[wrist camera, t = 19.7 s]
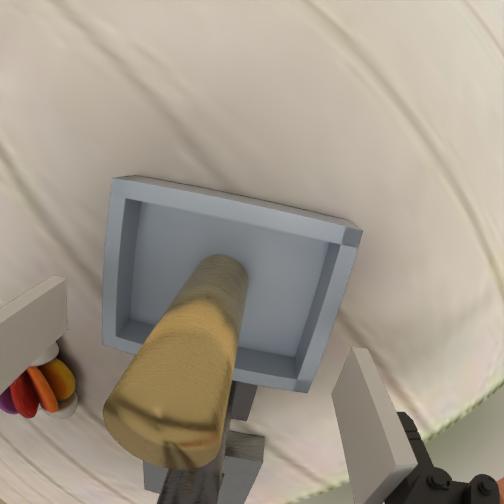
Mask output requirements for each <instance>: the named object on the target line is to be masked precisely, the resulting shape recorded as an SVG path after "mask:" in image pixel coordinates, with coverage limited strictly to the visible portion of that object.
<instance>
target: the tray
mask: <svg viewBox="0 0 504 504" xmlns="http://www.w3.org/2000/svg"><path fill="white" fill-rule="evenodd" d="M362 232H363V231H362V230H361V229H360V228H358V227H357V226H356V225H354V224H353V223H352V222H350V221H349V220H345V219H341V218H337V217H333V216H329V215H325V214H320V213H316V212H312V211H308V210H304V209H300V208H295V207H291V206H287V205H282V204H278V203H273V202H269V201H264V200H260V199H255V198H251V197H246V196H241V195H237V194H232V193H227V192H222V191H217V190H212V189H207V188H202V187H197V186H192V185H186V184H181V183H176V182H170V181H165V180H159V179H153V178H148V177H142V176H136V175H133V176H124V177H116V178H112V186H111V193H110V201H109V210H108V219H107V229H106V241H105V255H104V272H103V304H102V334H103V345H106V346H109V347H112V348H115V349H118V350H121V351H124V352H127V353H131V354H134V355H136V354H137V353H138V351H139V350H140V348H141V347H142V345H143V344H144V342H145V341H146V339H147V338H148V336H149V335H150V333H151V332H152V330H153V329H154V327H155V326H156V324H157V323H158V322H159V320H160V319H161V317H162V316H163V314H164V313H165V311H166V310H167V308H168V307H169V305H170V304H171V302H172V301H173V300H174V298H175V297H176V295H177V294H178V292H179V291H180V289H181V288H182V287H183V285H184V284H185V282H186V281H187V279H188V278H189V276H190V275H191V274H192V272H193V271H194V269H195V268H196V267H197V265H198V264H199V263H200V262H201V261H202V260H203V259H205V258H206V257H208V256H211V255H217V254H222V255H227V256H230V257H233V258H234V259H236V260H237V261H239V262H240V263H241V264H242V265H243V267H244V268H245V270H246V272H247V274H248V278H249V286H248V292H247V298H246V303H245V309H244V315H243V321H242V326H241V332H240V338H239V343H238V349H237V354H236V360H235V366H234V371H233V377H232V380H234V381H239V382H244V383H249V384H255V385H260V386H265V387H271V388H277V389H283V390H289V391H296V392H302V393H308V391H309V388H310V386H311V383H312V381H313V378H314V376H315V373H316V371H317V368H318V365H319V363H320V360H321V358H322V355H323V352H324V350H325V347H326V344H327V342H328V339H329V336H330V333H331V330H332V328H333V325H334V322H335V319H336V316H337V313H338V310H339V307H340V304H341V301H342V298H343V295H344V292H345V289H346V286H347V283H348V280H349V277H350V273H351V270H352V267H353V263H354V260H355V257H356V253H357V250H358V246H359V243H360V239H361V236H362Z"/></svg>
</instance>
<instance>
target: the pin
mask: <svg viewBox="0 0 504 504" xmlns="http://www.w3.org/2000/svg"><path fill="white" fill-rule="evenodd" d="M248 286H249V278H248V274H247V272H246V270H245V268H244V267H243V265H242V264H241V263H240V262H239V261H237V260H236V259H234V258H233V257H230V256H227V255H222V254H217V255H211V256H208V257H206V258H205V259H203V260H202V261H201V262H200V263H199V264H198V265H197V267H196V268H195V269H194V271H193V272H192V274H191V275H190V276H189V278H188V279H187V281H186V282H185V284H184V285H183V287H182V288H181V289H180V291H179V292H178V294H177V295H176V297H175V298H174V300H173V301H172V302H171V304H170V305H169V307H168V308H167V310H166V311H165V313H164V314H163V316H162V317H161V319H160V320H159V322H158V323H157V324H156V326H155V327H154V329H153V330H152V332H151V333H150V335H149V336H148V338H147V339H146V341H145V342H144V344H143V345H142V347H141V348H140V350H139V351H138V353H137V354H136V356H135V357H134V359H133V360H132V362H131V364H130V365H129V367H128V368H127V370H126V371H125V373H124V374H123V376H122V377H121V379H120V380H119V382H118V384H117V385H116V387H115V388H114V390H113V391H112V393H111V394H110V396H109V398H108V399H107V401H106V402H105V405H104V408H103V417H104V422H105V424H106V427H107V429H108V431H109V432H110V434H111V435H112V436H113V438H114V439H115V440H116V441H117V442H118V443H119V444H120V445H121V446H122V447H123V448H125V449H126V450H127V451H128V452H130V453H131V454H133V455H134V456H136V457H138V458H140V459H142V460H144V461H146V462H148V463H151V464H154V465H157V466H160V467H164V468H170V469H194V468H198V467H201V466H204V465H206V464H208V463H210V462H211V461H212V460H213V459H214V458H215V457H216V456H217V454H218V452H219V450H220V444H221V439H222V433H223V428H224V422H225V416H226V411H227V405H228V400H229V394H230V388H231V383H232V377H233V371H234V366H235V360H236V354H237V349H238V343H239V338H240V332H241V326H242V321H243V315H244V309H245V303H246V298H247V292H248Z"/></svg>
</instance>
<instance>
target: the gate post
mask: <svg viewBox="0 0 504 504" xmlns="http://www.w3.org/2000/svg"><path fill="white" fill-rule="evenodd" d="M257 386H258V385H255V384H249V383H244V382H239V381H234V380H232V383H231V388H230V394H229V400H228V405H227V411H226V416H225V422H224V428H223V433H222V439H221V444H220V450H219V452H218V454H217V456H216V457H215V458H214V459H213V460H212V461H211V462H210V463H208V464H206V465H204V466H201V467H198V468H194V469H170V468H168V470H167V473H166V476H165V479H164V482H163V485H162V488H161V492H160V495H159V498H158V501H157V504H217V501H218V495H219V488H220V482H221V476H222V470H223V464H224V458H225V452H226V445H227V439H228V433H229V427H230V420H231V418H232V419H237V420H243V421H247V419H248V416H249V412H250V409H251V406H252V403H253V399H254V396H255V393H256V389H257Z"/></svg>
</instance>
